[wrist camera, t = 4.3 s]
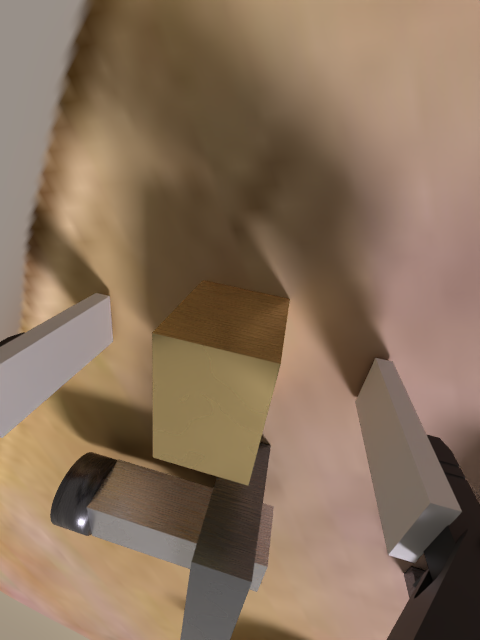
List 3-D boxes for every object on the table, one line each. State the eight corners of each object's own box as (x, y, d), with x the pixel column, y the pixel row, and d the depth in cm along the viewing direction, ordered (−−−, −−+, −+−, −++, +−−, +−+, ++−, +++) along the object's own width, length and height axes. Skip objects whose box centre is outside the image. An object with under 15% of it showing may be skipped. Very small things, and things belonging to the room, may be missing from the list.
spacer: (194, 380, 16) (152, 457, 12) (203, 279, 13) (152, 332, 9) (265, 398, 16) (248, 485, 11) (289, 298, 13) (280, 363, 8)
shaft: (99, 476, 21) (56, 538, 17) (93, 438, 19) (44, 500, 15) (263, 528, 19) (253, 607, 16) (276, 493, 17) (268, 574, 14)
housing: (213, 518, 22) (177, 653, 16) (229, 434, 17) (186, 577, 11) (458, 595, 20) (525, 784, 14) (548, 523, 15) (707, 756, 9)
